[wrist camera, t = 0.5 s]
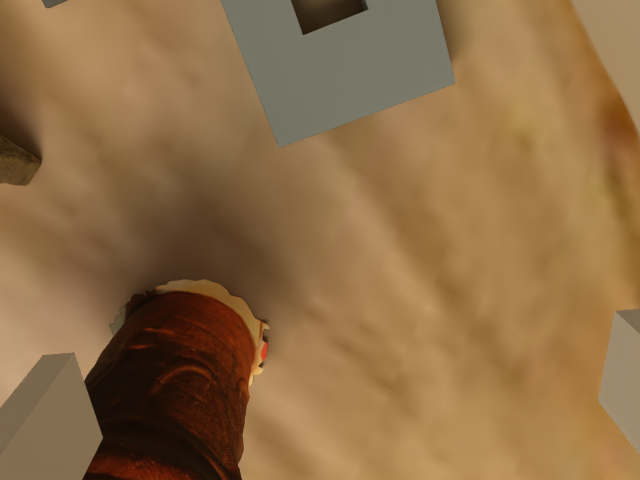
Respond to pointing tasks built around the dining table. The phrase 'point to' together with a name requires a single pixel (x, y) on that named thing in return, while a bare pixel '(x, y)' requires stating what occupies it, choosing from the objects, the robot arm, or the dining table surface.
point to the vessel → (175, 385)
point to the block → (338, 61)
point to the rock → (16, 163)
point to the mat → (52, 2)
